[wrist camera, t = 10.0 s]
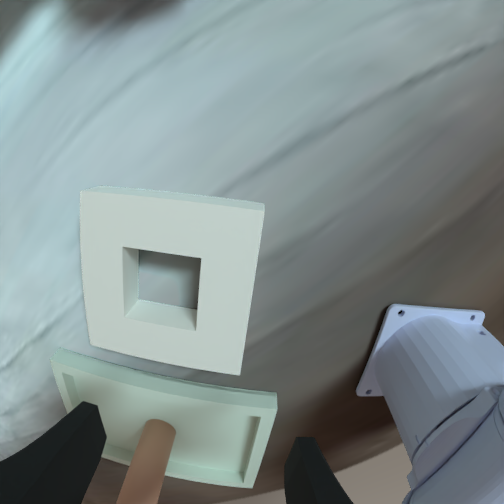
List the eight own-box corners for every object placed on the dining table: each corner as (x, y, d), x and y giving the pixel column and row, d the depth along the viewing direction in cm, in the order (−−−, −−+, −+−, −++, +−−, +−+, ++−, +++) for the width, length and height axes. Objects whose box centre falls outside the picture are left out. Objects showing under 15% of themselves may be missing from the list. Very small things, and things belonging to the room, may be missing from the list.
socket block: (264, 203, 17) (264, 211, 15) (242, 351, 20) (239, 375, 18) (101, 185, 17) (80, 190, 15) (105, 326, 20) (90, 344, 18)
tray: (276, 392, 21) (277, 409, 19) (252, 474, 25) (252, 488, 23) (60, 347, 21) (49, 359, 19) (88, 438, 25) (82, 449, 23)
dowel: (175, 423, 22) (150, 510, 14) (176, 440, 23) (155, 522, 14) (144, 416, 22) (111, 499, 14) (147, 434, 23) (119, 512, 14)
